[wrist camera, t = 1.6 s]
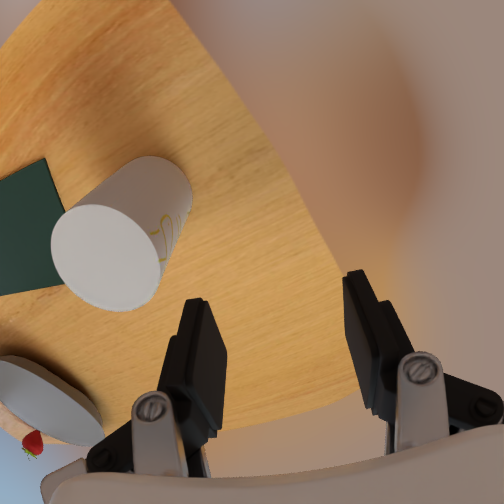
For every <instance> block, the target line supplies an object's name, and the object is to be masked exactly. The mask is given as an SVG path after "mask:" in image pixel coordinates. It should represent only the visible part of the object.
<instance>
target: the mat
mask: <svg viewBox="0 0 504 504" xmlns="http://www.w3.org/2000/svg"><path fill="white" fill-rule="evenodd" d="M63 214H65V210H64V208H63V205H62V203H61V200H60V198H59V195H58V193H57V190H56V187H55V185H54V182H53V179H52V177H51V174H50V171H49V168H48V165H47V162H46V159H45V158H44V159H41V160H39V161H37V162H35V163H33V164H31V165H29V166H27V167H25V168H23V169H21V170H20V171H18V172H16V173H14V174H12V175H10V176H8V177H6V178H5V179H3V180H1V181H0V296H3V295H8V294H13V293H19V292H24V291H29V290H35V289H40V288H45V287H51V286H56V285H61V284H65V283H64V281H63V280H62V278H61V277H60V275H59V273H58V271H57V269H56V267H55V265H54V262H53V258H52V253H51V237H52V232H53V229H54V227H55V225H56V223H57V221H58V220H59V219H60V218H61V216H62V215H63Z"/></svg>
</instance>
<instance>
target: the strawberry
mask: <svg viewBox="0 0 504 504" xmlns="http://www.w3.org/2000/svg"><path fill="white" fill-rule="evenodd" d="M22 445H23V447H24V448H25V449H26V450H25V449H24V448H22V449H23V450H25V452H26V453H28V454H30V455H32V456H33V457H35V456H36V455H39V454H41V453H42V451H43V441H42V438H41V435H40V431H39V430H35V431H33V432H31V433H29V434H28V435H26V436H25V437H24V439H23V441H22ZM34 455H35V456H34ZM35 458H36V457H35ZM36 459H37V458H36Z"/></svg>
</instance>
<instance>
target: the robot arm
mask: <svg viewBox="0 0 504 504" xmlns="http://www.w3.org/2000/svg"><path fill="white" fill-rule="evenodd" d="M342 281H343V300H344V325H345V336H346V340H347V343H348V346H349V350H350V353H351V357H352V360H353V364H354V367H355V371H356V375H357V378H358V382H359V386H360V389H361V393H362V397H363V401H364V404H365V408H366V409H368V408H371V410H372V414H373V415H378V416H379V418H380V419H382V420H384V421H386V436H385V453H384V456H381V457H378V458H374V459H369V460H365V461H361V462H356V463H352V464H346V465H341V466H336V467H330V468H324V469H319V470H312V471H304V472H298V473H289V474H279V475H268V476H254V477H236V478H234V477H233V478H211V474H210V470H209V466H208V461H207V457H206V453H205V448H204V444H205V443H207V442H208V438H216V437H217V430H221V429H222V421H223V407H224V394H225V381H226V368H227V350H226V347H225V345H224V342H223V340H222V337H221V335H220V332H219V329H218V327H217V324H216V322H215V319H214V316H213V314H212V311H211V308H210V306H209V303H208V301H203V299H202V298H194V299H188V300H186V302H185V305H184V309H183V313H182V316H181V320H180V324H179V328H178V332H177V335H174V336H172V337H171V338H170V341H169V344H168V348H167V352H166V356H165V359H164V363H163V367H162V371H161V375H160V379H159V383H158V387H157V391H150V392H147V393H145V394H143V395H141V396H140V397H139V398H138V399H137V400H136V401H135V402H134V404H133V406H132V411H131V420H130V421H128V422H127V423H126V424H124V425H123V426H121V427H120V428H119V429H117V430H116V431H114V432H113V433H112V434H110V435H109V436H107V437H106V438H105V439H103V440H102V441H100V442H99V443H97V444H96V445H95V446H93V447H92V448H91V449H90V451H89V453H88V455H87V458H86V459H83V458H80V459H78V460H76V461H74V462H72V463H70V464H68V465H66V466H64V467H62V468H60V469H58V470H56V471H54V472H52V473H50V474H48V475H47V476H45V477H44V478H43V480H42V481H41V486H40V489H41V494H42V498H43V501H44V504H504V401H502V399H501V397H500V396H499V395H498V394H497V393H495V392H494V391H492V390H489V389H486V388H483V387H481V386H478V385H475V384H473V383H470V382H467V381H464V380H462V379H459V378H456V377H454V376H451V375H448V374H446V373H443V369H442V365H441V362H440V361H439V360H438V358H437V357H435V356H434V355H432V354H430V353H427V352H421V351H418V352H415V351H414V349H413V347H412V345H411V342H410V340H409V338H408V336H407V334H406V332H405V330H404V328H403V326H402V324H401V322H400V320H399V318H398V316H397V314H396V312H395V310H394V308H393V306H392V304H391V302H390V301H389V300H386V301H382V302H378V300H377V298H376V296H375V294H374V291H373V289H372V287H371V285H370V283H369V281H368V279H367V277H366V275H365V273H364V271H363V270H362V269H361V270H356V271H350V272H348V273H347V276H346V277H343V278H342Z"/></svg>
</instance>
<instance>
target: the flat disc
mask: <svg viewBox="0 0 504 504" xmlns="http://www.w3.org/2000/svg"><path fill="white" fill-rule="evenodd" d="M0 401H1V402H2V403H3V404H4V405H5V406H6V407H7V408H8V409H9V410H10V411H11V412H12V413H14V414H15V415H16V416H17V417H19V418H20V419H21V420H23V421H24V422H26V423H27V424H29V425H30V426H32V427H33V428H35V429H37V430H39V431H40V432H42V433H44V434H46V435H48V436H51V437H53V438H55V439H58V440H60V441H63V442H66V443H70V444H74V445H78V446H88V447H90V446H95V445H96V444H97V443H99V442H100V441H102V440H103V439H105V434H104V431H103V429H102V419H101V415H100V413H99V412H98V411H97V408H96V407H95V406H94V404H93V402H91V401H90V400H89V399H88V398H87V397H86V396H85V395H84V394H83V393H81V392H80V391H78V390H77V389H75V388H73V387H72V386H70V385H68V384H67V383H66V382H64V381H63V380H61V379H60V378H59V377H58V376H56V375H54V374H52V373H51V372H50V371H47V370H46V369H45V368H44V367H42V366H40V365H38V364H37V363H35V362H32V361H30V360H28V359H26V358H23V357H17V356H14V355H8V356H3V357H0Z"/></svg>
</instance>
